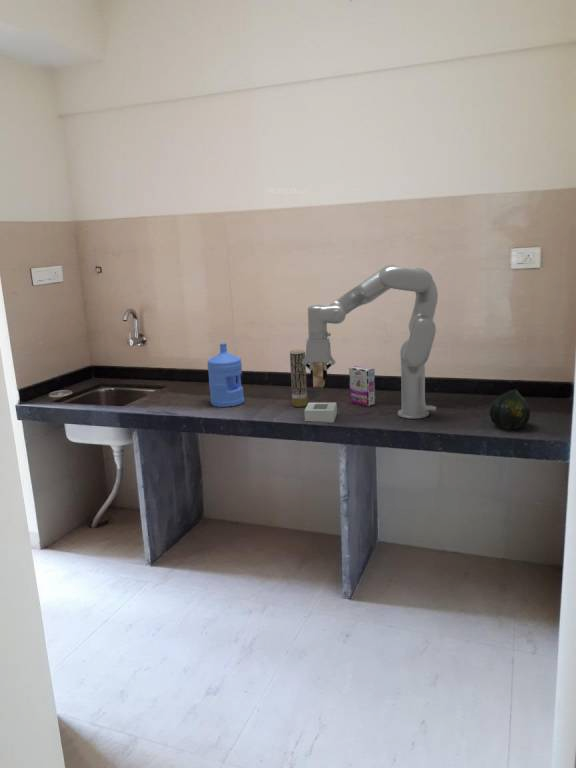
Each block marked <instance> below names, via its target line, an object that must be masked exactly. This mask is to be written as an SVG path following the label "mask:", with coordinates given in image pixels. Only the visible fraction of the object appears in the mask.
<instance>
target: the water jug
mask: <svg viewBox="0 0 576 768" xmlns="http://www.w3.org/2000/svg"><path fill="white" fill-rule="evenodd" d="M227 348H228V347H227V343H220V344H219V350H220V351H219V353H218V354H216V355H215V356H212V357H210V358H209V359H207V371H208V386H209V393H210V397H209V398H210V399H209V401H210V404H211V405H212V406H213V407H216V406H217V407H216V408H231V407H230V406H232V407H237V406H240V405H242V404H243V403H244V401H245V396H244V387H243V386H242V379H241V376H242V373H243V370H242V368H243V363H242V359H241V357H240V356H237V355H234V354H232V353H230V352H228V349H227ZM236 405H237V406H236Z"/></svg>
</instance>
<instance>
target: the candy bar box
mask: <svg viewBox="0 0 576 768" xmlns="http://www.w3.org/2000/svg"><path fill="white" fill-rule="evenodd" d="M348 369H349V374H348V375H349V401H350V404H355V405H359V406H364V407H372V406H374V405H376V388H375V387H376V385H375V384H376V382H375V380H376V379H375V368H370V367H365V366H359V365H355V366H351V367H349V368H348Z"/></svg>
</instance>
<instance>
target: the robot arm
mask: <svg viewBox="0 0 576 768" xmlns="http://www.w3.org/2000/svg"><path fill="white" fill-rule="evenodd" d="M390 289H393V290H399V291H408V292H415V300H414V301H415V302H414V305H413V309H412V313H411V316H410V320H409V323H408V330H409V332H410V333H409V337H408V339H407V340H406V341H404V342H403V344H402V345H401V347H400V353H399V354H400V368H401V369H400V373H401V374H400V375H401V379H400V380H401V383H400V384H401V387H400V388H401V389H400V390H401V394H400V396H401V399H400V400H401V409H398V411H397V415H398V417H400V418H403V419H411V420H412V419H413V420H415V419H423V418H427V417H428V416H429V413H430V412H437V406H433V405H428V404H426V395H425V394H426V371H425V370H426V368H425V367H426V366H425V364H426V363H427V362H428V360H429V358H430V355H431V351H432V349H433V344H434V341H435V338H436V337H435V336H436V330H437V329H436V328H437V327H436V324H435V322H434V317H435V313H436V308H437V304H438V297H439V295H438V294H439V293H438V289H437V285H436V282H435V281H434V279H433V276H432V274H431V273H430V272H429V271H428V270H426V269H424V268H420V267H418V268H407V267H400V266H396V265H394V264H389V265H388V264H387V265H385V266H383V267H382V268H380V269H379V270H377V271H376V272H374V273H373V274H372V275H371V276H369V277H367V278H366V279H365V280H363V281H362V282H361V283H359V284H357V285H356V286H354V287H353V288H352V289H350V290H349V291H347V292H346V293H344V294H342V295H341V296H339V297H338V298H337V299H336V300H334V301H333V302H331V303H330V304H329V305H327V306H326V305H324V304H314V305H313V304H312V305H309V306H308V307H307V325H308V326H307V327H308V338H307V339H306V343H305V344H306V345H305V358H304V359H303V361H302V364H303V365H305V366H306V369H308V370H309V371H310V378H311V380H312V381H313V363H323V367H324V370H323V380H325V381H326V379H327V378H328V370H329V368H330V367H332V366H334V365H335V364H336V360H335V359H334V358H333V356H332V350H331V341H330V338H329V337H331V332H328V327H327V326H328V325H327V324H334V325H336V324H337V325H338V324H341V323H343V322H344V321H345V319H346V315H348V314H349V313H351V312H352V311H354V310H356V309H357V308H359V307H361V306H363V305H367V304H370V303H372V302H373V301H374V300H376V299H377V298H379V297H380V296H382V295H383V294H385V293H386V292H387V291H389V290H390Z"/></svg>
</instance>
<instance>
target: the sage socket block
mask: <svg viewBox="0 0 576 768" xmlns="http://www.w3.org/2000/svg"><path fill="white" fill-rule="evenodd" d="M337 407H338V406H337V402H307V405H306V406H305V409H304V411H303V412H304V422H305V421H321V422H320V423H335V421H334V420H336V418H337V415H338V414H337V413H338V411H337V410H338V408H337ZM323 421H324V422H323Z"/></svg>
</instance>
